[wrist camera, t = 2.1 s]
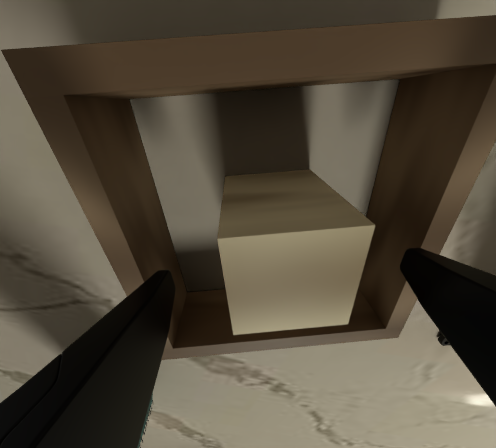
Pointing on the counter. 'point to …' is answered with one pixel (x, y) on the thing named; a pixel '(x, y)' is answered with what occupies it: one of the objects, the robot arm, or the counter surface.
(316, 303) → the maple block
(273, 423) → the counter surface
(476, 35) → the box
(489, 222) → the counter surface
